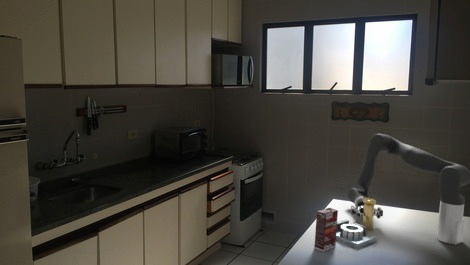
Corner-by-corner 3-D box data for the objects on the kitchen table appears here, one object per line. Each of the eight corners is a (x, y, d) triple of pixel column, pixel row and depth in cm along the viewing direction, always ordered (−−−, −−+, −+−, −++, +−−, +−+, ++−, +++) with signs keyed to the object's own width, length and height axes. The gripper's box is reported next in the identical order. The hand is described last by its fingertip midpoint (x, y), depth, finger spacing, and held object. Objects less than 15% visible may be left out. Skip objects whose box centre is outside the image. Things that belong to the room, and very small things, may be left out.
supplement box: (323, 252, 162) (325, 214, 160) (313, 248, 165) (315, 211, 163) (336, 247, 167) (338, 210, 165) (326, 243, 171) (328, 207, 169)
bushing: (376, 229, 188) (378, 200, 186) (369, 232, 185) (371, 202, 183) (366, 226, 192) (367, 197, 190) (358, 228, 189) (360, 199, 187)
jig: (376, 241, 174) (376, 230, 173) (357, 248, 166) (358, 237, 166) (345, 230, 187) (346, 219, 186) (327, 236, 179) (327, 225, 178)
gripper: (349, 196, 202) (353, 206, 186) (378, 198, 200) (385, 209, 184) (348, 211, 203) (352, 222, 187) (377, 213, 201) (384, 224, 185)
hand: (369, 215), depth 186 cm, fingers open, 8 cm apart
